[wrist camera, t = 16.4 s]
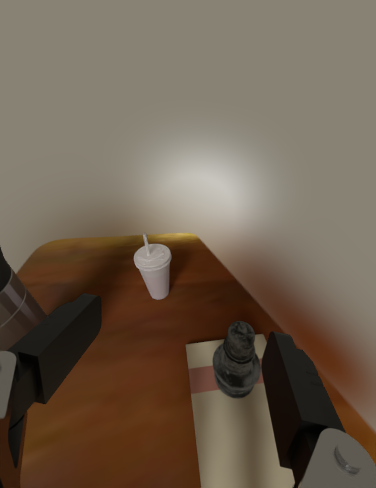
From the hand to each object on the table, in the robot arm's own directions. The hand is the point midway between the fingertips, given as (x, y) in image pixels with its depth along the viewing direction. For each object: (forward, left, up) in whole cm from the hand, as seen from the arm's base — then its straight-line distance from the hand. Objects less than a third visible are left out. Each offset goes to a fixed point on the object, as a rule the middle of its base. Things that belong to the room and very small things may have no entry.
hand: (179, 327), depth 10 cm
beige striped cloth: (+6, +2, -24) cm, 25 cm away
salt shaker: (+6, +6, -23) cm, 24 cm away
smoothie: (-4, +23, -24) cm, 34 cm away
